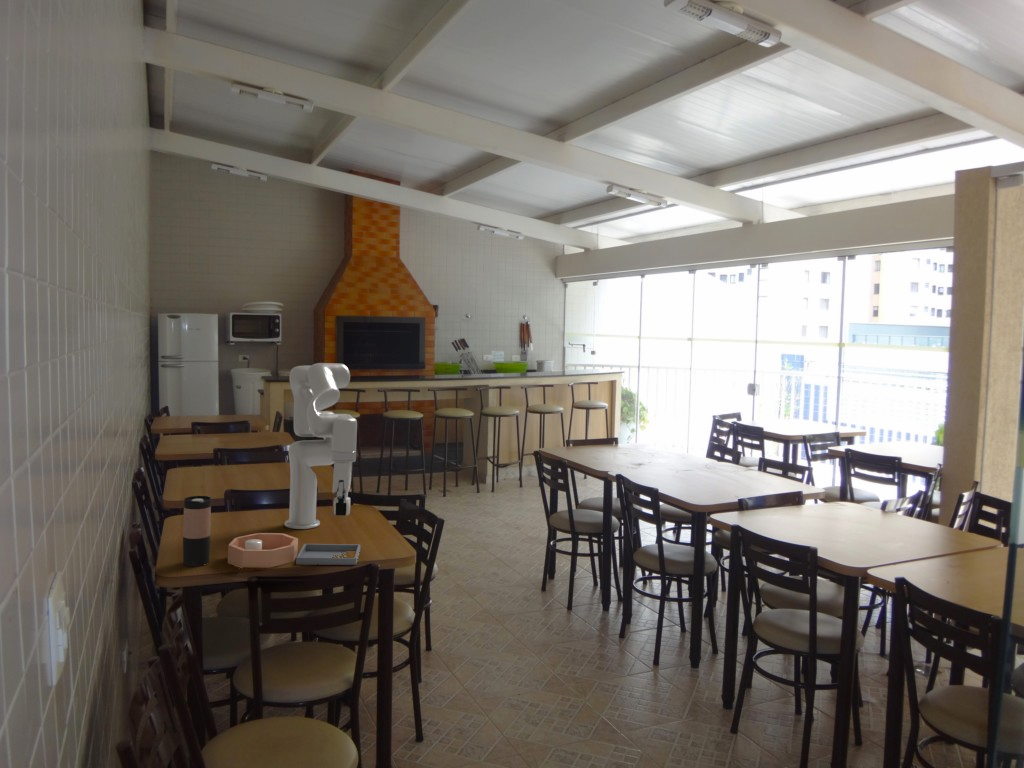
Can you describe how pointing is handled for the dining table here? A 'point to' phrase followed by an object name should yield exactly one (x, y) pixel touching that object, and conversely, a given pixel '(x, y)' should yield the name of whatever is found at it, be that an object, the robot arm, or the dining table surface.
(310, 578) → the dining table surface
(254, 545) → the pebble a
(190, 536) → the travel mug
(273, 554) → the bowl
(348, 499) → the pebble
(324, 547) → the parts tray
